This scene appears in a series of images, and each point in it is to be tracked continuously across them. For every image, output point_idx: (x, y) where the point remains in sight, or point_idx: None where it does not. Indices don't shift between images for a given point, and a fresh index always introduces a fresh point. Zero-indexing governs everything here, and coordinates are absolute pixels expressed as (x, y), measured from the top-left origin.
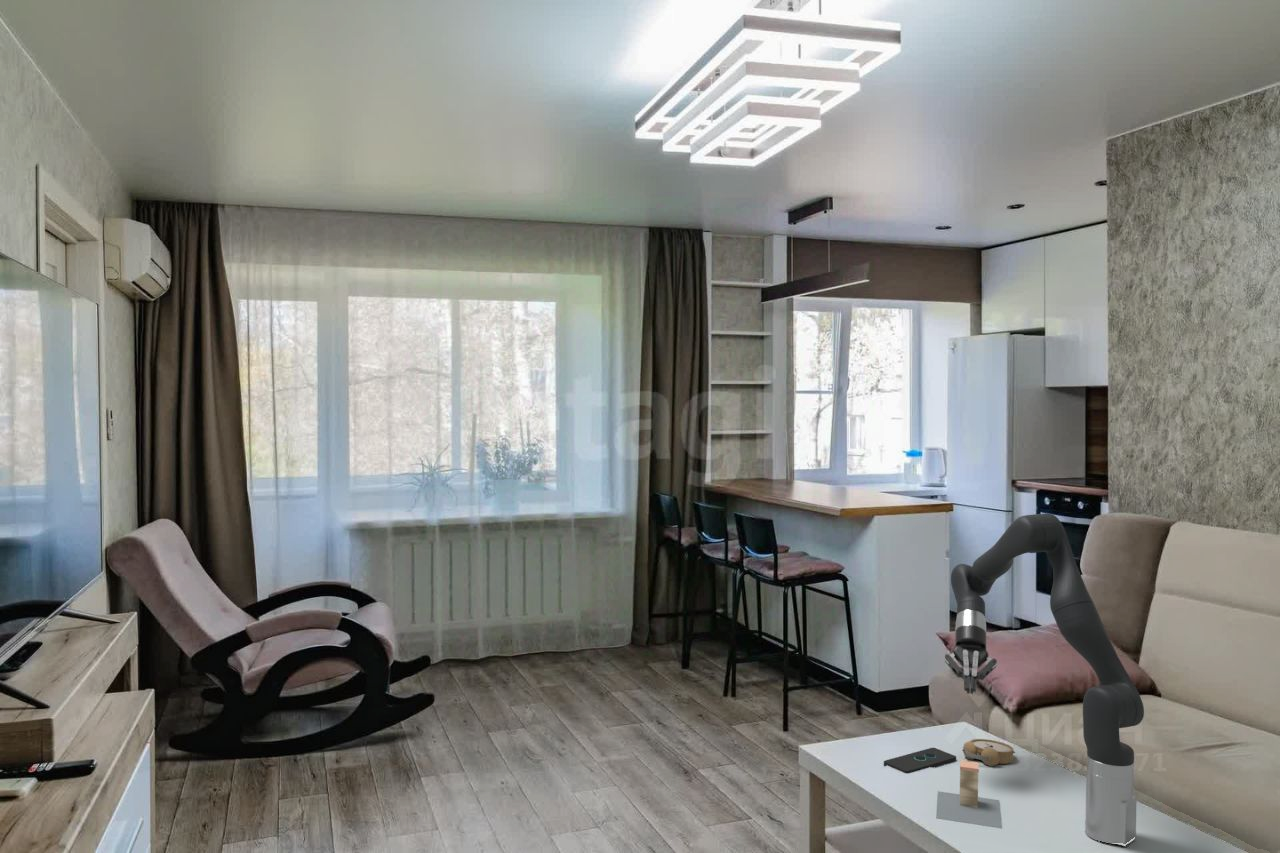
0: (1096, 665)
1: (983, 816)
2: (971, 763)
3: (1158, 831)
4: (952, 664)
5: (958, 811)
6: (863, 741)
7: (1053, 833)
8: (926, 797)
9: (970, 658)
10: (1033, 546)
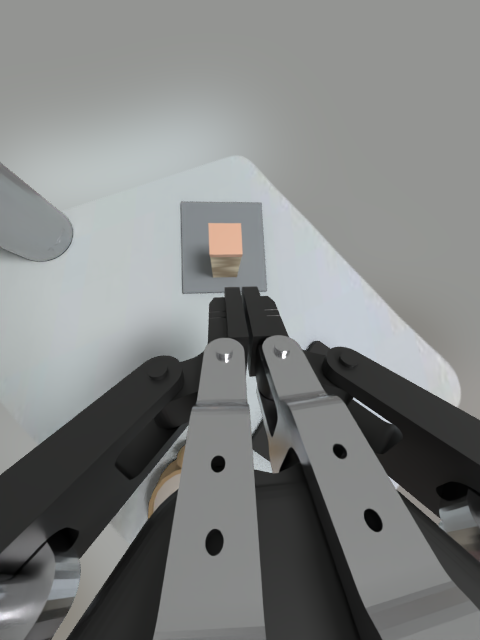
0: None
1: (204, 228)
2: (221, 246)
3: None
4: (442, 405)
5: None
6: None
7: (117, 218)
8: (279, 271)
9: (302, 592)
10: None
